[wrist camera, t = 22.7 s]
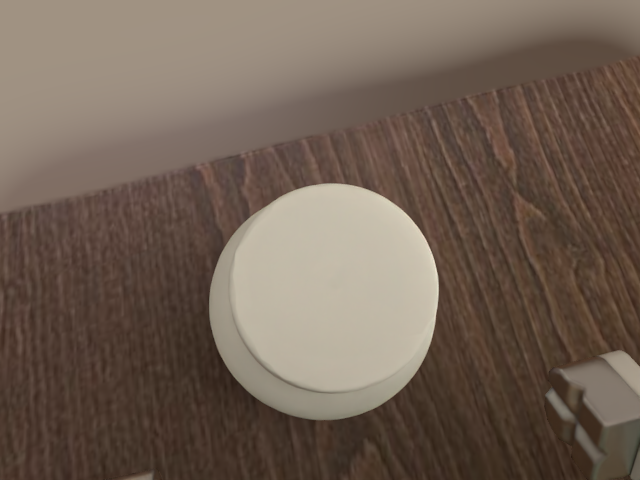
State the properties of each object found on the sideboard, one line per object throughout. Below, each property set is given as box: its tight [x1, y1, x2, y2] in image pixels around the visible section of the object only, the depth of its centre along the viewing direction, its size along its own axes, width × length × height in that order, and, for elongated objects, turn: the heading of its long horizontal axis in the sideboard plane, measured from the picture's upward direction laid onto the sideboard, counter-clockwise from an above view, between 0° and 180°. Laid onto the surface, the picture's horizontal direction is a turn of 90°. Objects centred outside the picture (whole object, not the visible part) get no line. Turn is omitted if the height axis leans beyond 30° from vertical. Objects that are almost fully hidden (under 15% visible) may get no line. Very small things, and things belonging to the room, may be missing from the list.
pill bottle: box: [209, 184, 439, 420], centre depth 15 cm, size 5×5×10 cm
